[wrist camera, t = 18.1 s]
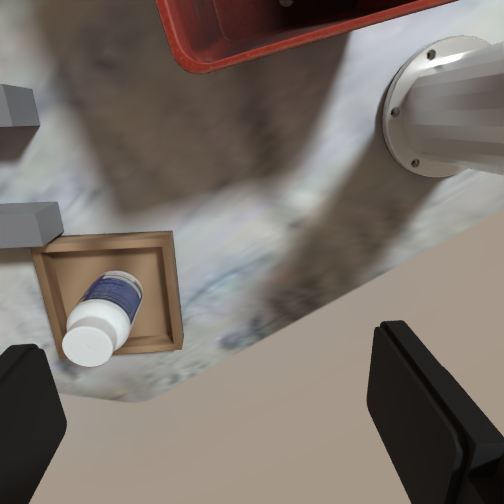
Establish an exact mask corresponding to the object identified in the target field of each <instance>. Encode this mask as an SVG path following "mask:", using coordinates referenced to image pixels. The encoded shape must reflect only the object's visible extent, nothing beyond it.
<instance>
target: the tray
mask: <svg viewBox="0 0 504 504" xmlns="http://www.w3.org/2000/svg"><path fill="white" fill-rule="evenodd" d="M30 249H31V253H32V257H33V260H34V264H35V268H36V272H37V275H38V279H39V283H40V287H41V290H42V294H43V298H44V302H45V305H46V309H47V313H48V316H49V320H50V324H51V328H52V331H53V335H54V339H55V343H56V346H57V350H58V354H59V358H60V359H61V358H68V357H67V356H66V355H65V353H64V351H63V348H62V341H63V338H64V336H65V334H66V333H67V328H66V325H67V319H68V316H69V314H70V313H71V311H72V310H73V308H74V307H75V306H76V304H77V303H78V302H79V300H80V299H81V298H82V296H83V295H84V294H85V292H86V291H87V290H88V289H89V287H90V286H91V285H92V283H93V282H94V281H95V280H96V279H97V278H98V277H99V276H100V275H101V274H103V273H105V272H108V271H123V272H126V273H128V274H131V275H132V276H134V277H135V278H136V279H137V280H138V281H139V282H140V284H141V286H142V288H143V301H142V304H141V307H140V309H139V311H138V314H137V316H136V319H135V321H134V324H133V326H132V329H131V331H130V334H129V336H128V338H127V340H126V342H125V343H124V344H123V345H122V346H121V347H120V348H118V349H117V350H115V351H113V353H112V355H114V354H128V353H141V352H155V351H168V350H182V345H183V339H184V333H183V324H182V315H181V305H180V296H179V287H178V277H177V268H176V258H175V249H174V240H173V231H155V232H134V233H112V234H91V235H69V236H56V237H55V238H54V239H52V240H51V241H50V242H48V243H47V244H46V245H44V246H37V247H30Z"/></svg>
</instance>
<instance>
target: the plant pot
mask: <svg viewBox="0 0 504 504" xmlns="http://www.w3.org/2000/svg"><path fill="white" fill-rule="evenodd" d="M155 1H156V4H157V8H158V11H159V14H160V18H161V21H162V24H163V28H164V31H165V34H166V38H167V41H168V44H169V48H170V51H171V53H172V55H173V57H174V59H175V61H176V62H177V63H178V65H179V66H180V67H181V68H183V69H184V70H185V71H187V72H189V73H193V74H206V73H210V72H213V71H217V70H221V69H224V68H227V67H230V66H234V65H237V64H240V63H244V62H247V61H250V60H254V59H257V58H260V57H264V56H267V55H271V54H274V53H278V52H281V51H285V50H288V49H292V48H295V47H299V46H302V45H306V44H309V43H313V42H316V41H319V40H323V39H326V38H330V37H333V36H336V35H340V34H343V33H347V32H350V31H353V30H357V29H360V28H364V27H367V26H370V25H374V24H377V23H381V22H384V21H388V20H391V19H395V18H398V17H402V16H405V15H409V14H412V13H416V12H419V11H423V10H426V9H430V8H434V7H437V6H441V5H444V4H448V3H451V2H455V1H458V0H294V2H293V4H292V5H291V6H289V7H283V6H282V5H281V4H280V2H279V0H155Z"/></svg>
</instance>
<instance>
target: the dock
mask: <svg viewBox="0 0 504 504" xmlns="http://www.w3.org/2000/svg"><path fill="white" fill-rule="evenodd" d="M12 126H40V122H39V118H38V113H37V109H36V104H35V100H34V96H33V91H32V89H29V88H23V87H17V86H11V85H5V84H0V127H12ZM63 231H64V229H63V224H62V220H61V215H60V211H59V206H58V202H37V203H11V204H0V248H16V247H37V246H44V245H46V244H47V243H48V242H50V241H51V240H52V239H54V238H55V237H56V236H58V235H59V234H61V233H62V232H63Z"/></svg>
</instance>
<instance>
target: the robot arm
mask: <svg viewBox="0 0 504 504" xmlns="http://www.w3.org/2000/svg"><path fill="white" fill-rule="evenodd" d="M427 55H428V58H427ZM391 110H392V111H393V114H392V115H391ZM382 118H383V133H384V138H385V142H386V144H387V146H388V149H389V151H390V153H391V154H392V156H393V157H394V158H395V160H396V161H397V162H398V163H399V164H400V165H401V166H403V167H404V168H405V169H407V170H409V171H411V172H413V173H416V174H419V175H422V176H427V177H446V176H451V175H455V174H457V173H460V172H462V171H464V170H466V169H468V168H469V169H474V170H479V171H484V172H490V173H495V174H500V175H504V42H500V43H496V44H493V45H491V44H490V43H488V42H487V41H485V40H482V39H480V38H477V37H473V36H464V35H461V36H453V37H448V38H445V39H442V40H438V41H436V42H434V43H432V44H430V45H427V46H425V47H424V48H422V49H421V50H420V51H418V52H417V53H415V54H414V55H413V56H412V57H411V58H410V59H409V60H408V61H407V62H406V63H405V64H404V65H403V66H402V68H401V69H400V71H399V72H398V73H397V75H396V76H395V78H394V80H393V82H392V84H391V86H390V88H389V90H388V93H387V96H386V99H385V103H384V109H383V116H382ZM412 160H413V163H412V164H411V162H412ZM367 406H368V410H369V412H370V415H371V417H372V419H373V422H374V424H375V426H376V428H377V430H378V432H379V434H380V436H381V438H382V441H383V443H384V445H385V447H386V450H387V452H388V454H389V456H390V458H391V460H392V463H393V465H394V467H395V469H396V471H397V473H398V476H399V477H400V480H401V482H402V484H403V486H404V488H405V491H406V493H407V494H408V497H409V499H410V501H411V504H504V437H503V435H502V434H501V433H500V432H499V431H498V430H497V428H496V427H495V426H494V425H493V424H492V423H491V421H490V420H489V419H488V418H487V417H486V415H485V414H484V413H483V412H482V411H481V410H480V408H479V407H478V406H477V405H476V403H474V401H473V400H472V399H471V398H470V396H469V395H468V394H467V393H466V392H465V390H464V389H463V388H462V387H461V386H460V385H459V383H458V382H457V381H456V380H455V379H454V377H453V376H452V375H451V374H450V373H449V372H448V371H447V370H446V369H445V368H444V367H443V366H441V364H440V363H439V362H438V361H437V360H436V358H435V357H434V356H433V355H432V354H431V352H430V351H429V350H428V349H427V348H426V346H425V345H424V344H423V343H422V342H421V341H420V339H419V338H418V337H417V336H416V335H415V333H414V332H413V331H412V330H411V329H410V327H409V326H408V325H407V324H406V323H405V322H404V321H402V320H398V321H383V322H382V323H381V324H380V327H376V328H375V330H374V337H373V346H372V355H371V364H370V373H369V382H368V391H367ZM66 427H67V421H66V417H65V414H64V411H63V408H62V405H61V401H60V398H59V395H58V392H57V389H56V386H55V382H54V379H53V376H52V373H51V370H50V367H49V364H48V360H47V357H46V354H45V352H44V350H43V349H39V347H38V346H37V345H36V344H22V345H12V346H10V347H8V348H7V349H6V350H5V351H4V352H3V353H2V354H1V355H0V504H29V502H30V500H31V498H32V496H33V494H34V492H35V490H36V488H37V487H38V485H39V483H40V481H41V479H42V477H43V475H44V473H45V471H46V469H47V467H48V465H49V464H50V462H51V459H52V458H53V456H54V454H55V452H56V450H57V448H58V446H59V444H60V442H61V440H62V439H63V437H64V434H65V432H66Z"/></svg>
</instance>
